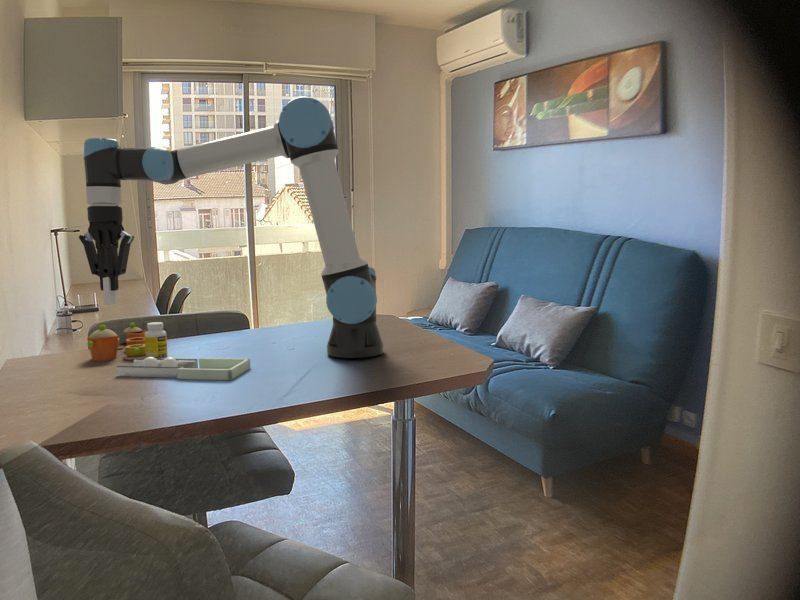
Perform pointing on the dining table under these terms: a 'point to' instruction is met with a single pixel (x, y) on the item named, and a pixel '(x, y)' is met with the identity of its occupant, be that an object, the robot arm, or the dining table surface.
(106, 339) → the toy tea set
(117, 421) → the dining table surface
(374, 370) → the dining table surface
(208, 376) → the tray
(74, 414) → the dining table surface
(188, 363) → the slot rails
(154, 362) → the chip ball
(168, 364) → the chip ball
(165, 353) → the supplement bottle
